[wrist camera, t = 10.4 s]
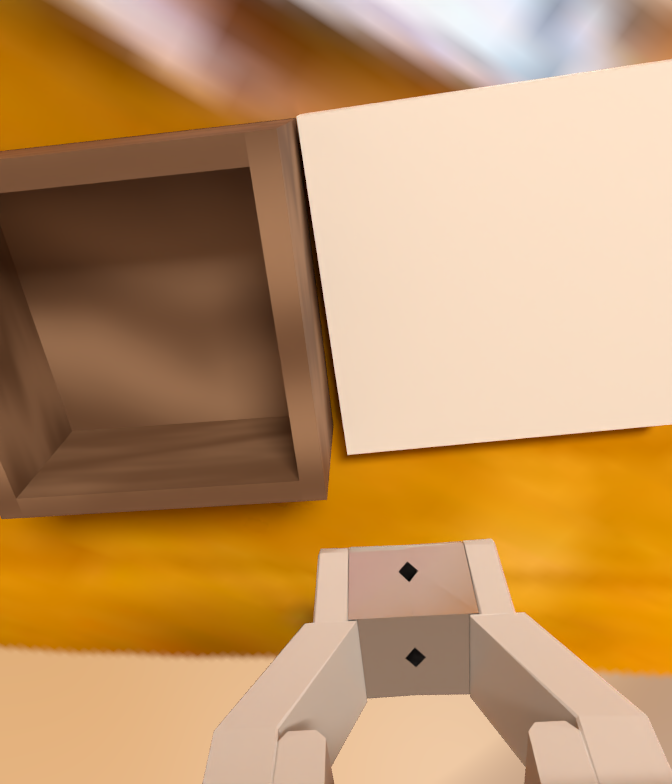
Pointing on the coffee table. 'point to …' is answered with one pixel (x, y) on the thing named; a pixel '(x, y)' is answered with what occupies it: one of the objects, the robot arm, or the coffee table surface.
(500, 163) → the cover plate
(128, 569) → the coffee table surface
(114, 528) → the coffee table surface
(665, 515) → the coffee table surface
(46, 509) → the box
